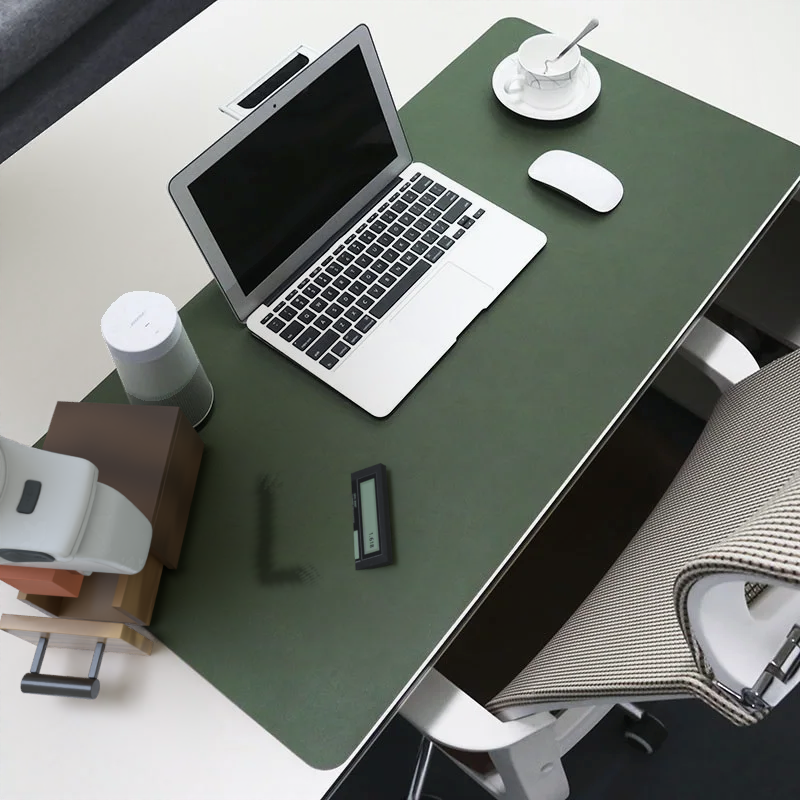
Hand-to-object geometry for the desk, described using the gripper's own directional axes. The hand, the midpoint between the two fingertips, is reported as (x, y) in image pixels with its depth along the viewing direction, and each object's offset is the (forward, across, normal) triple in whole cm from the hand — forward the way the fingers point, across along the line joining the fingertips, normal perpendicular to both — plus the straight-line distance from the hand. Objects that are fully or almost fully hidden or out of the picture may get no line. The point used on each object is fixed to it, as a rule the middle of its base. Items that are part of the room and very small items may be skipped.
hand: (50, 562), depth 65 cm
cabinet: (+12, 0, +10) cm, 16 cm away
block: (+2, 0, 0) cm, 2 cm away
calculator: (+13, +19, +8) cm, 24 cm away
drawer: (+11, 0, -1) cm, 12 cm away
